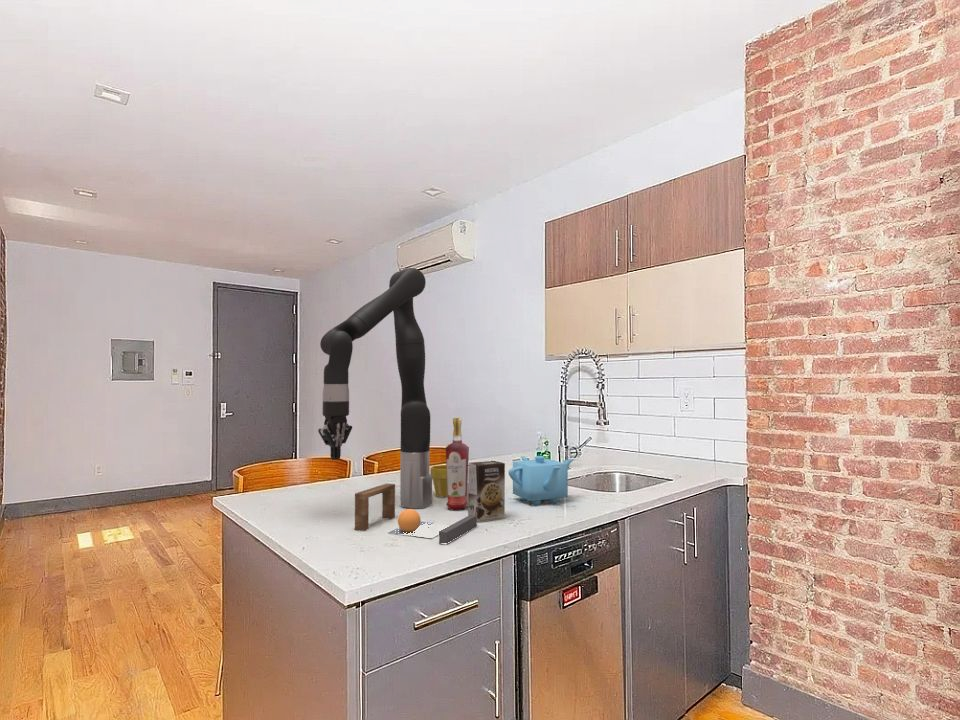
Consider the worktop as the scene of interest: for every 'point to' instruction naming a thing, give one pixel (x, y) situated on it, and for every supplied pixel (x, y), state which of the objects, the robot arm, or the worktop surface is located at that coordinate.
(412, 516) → the ball
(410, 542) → the worktop surface
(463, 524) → the wall
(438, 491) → the plant pot
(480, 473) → the coffee box
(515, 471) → the teakettle
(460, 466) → the liquor
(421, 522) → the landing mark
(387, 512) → the bridge
